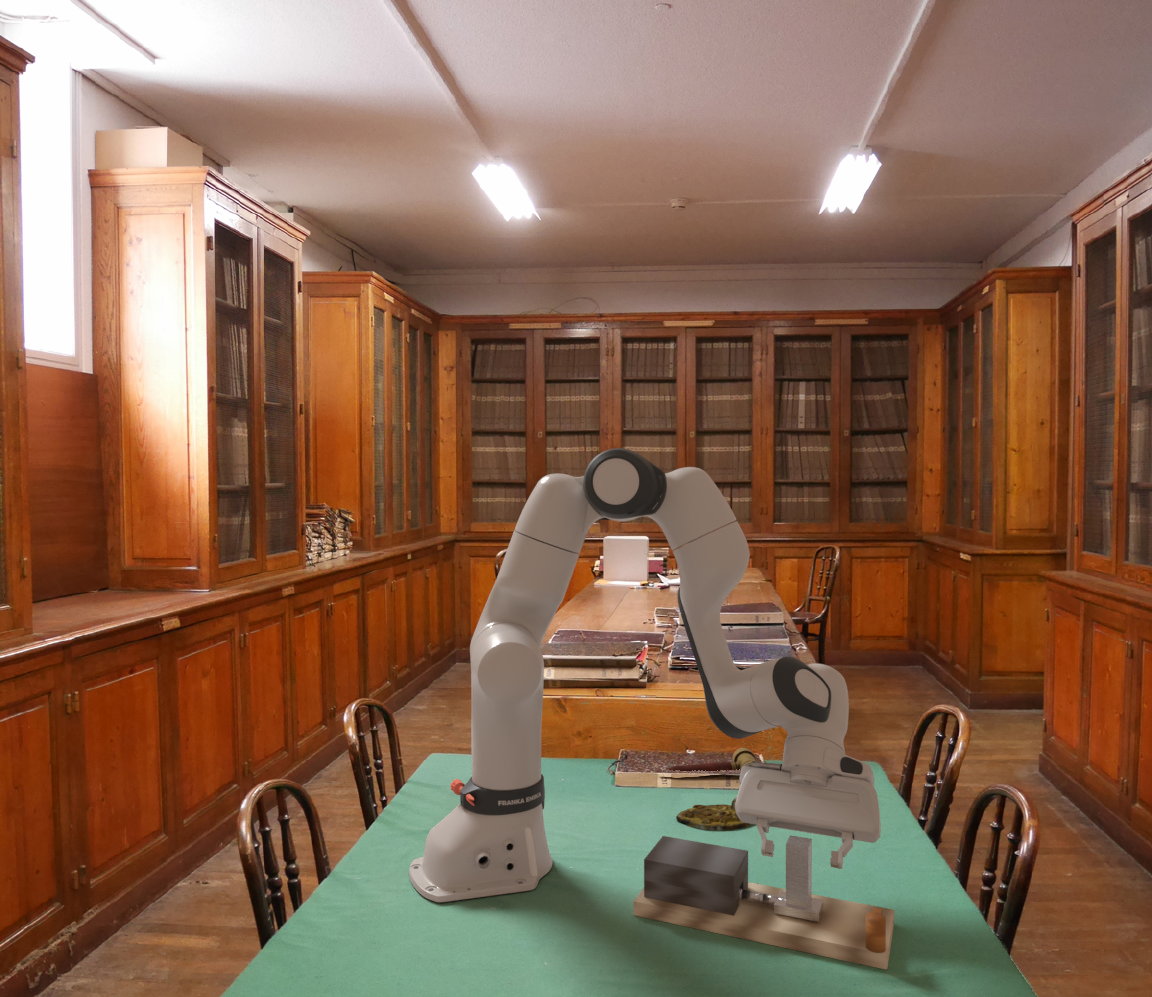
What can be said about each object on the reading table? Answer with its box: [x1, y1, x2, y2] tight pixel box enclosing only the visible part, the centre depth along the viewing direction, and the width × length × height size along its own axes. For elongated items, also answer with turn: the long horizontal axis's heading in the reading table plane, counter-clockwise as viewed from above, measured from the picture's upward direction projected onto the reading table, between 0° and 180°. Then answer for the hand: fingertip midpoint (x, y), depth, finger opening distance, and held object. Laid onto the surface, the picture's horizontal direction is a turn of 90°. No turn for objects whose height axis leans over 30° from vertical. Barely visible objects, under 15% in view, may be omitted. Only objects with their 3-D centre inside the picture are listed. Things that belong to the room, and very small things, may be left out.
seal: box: [675, 796, 753, 832], centre depth 157 cm, size 9×5×15 cm
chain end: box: [739, 834, 823, 922], centre depth 124 cm, size 23×4×10 cm, turn 66°
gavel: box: [667, 747, 757, 771], centre depth 179 cm, size 21×5×10 cm
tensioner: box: [633, 835, 895, 971], centre depth 123 cm, size 34×12×8 cm, turn 66°
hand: (801, 860), depth 122 cm, fingers open, 8 cm apart
